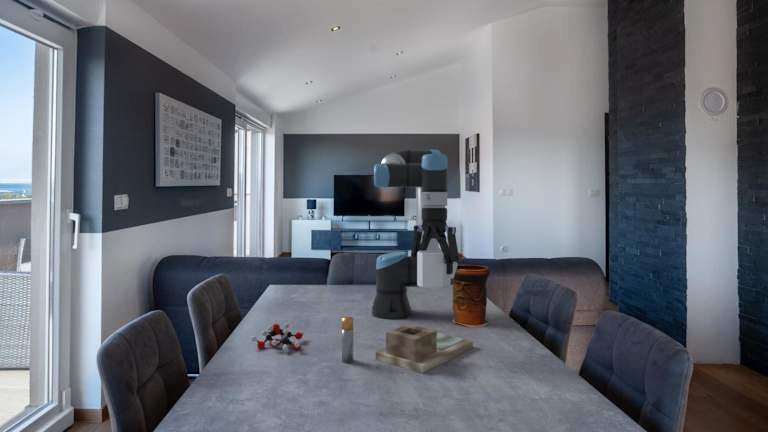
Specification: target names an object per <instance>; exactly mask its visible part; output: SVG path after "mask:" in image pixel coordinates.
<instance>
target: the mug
mask: <svg viewBox="0 0 768 432" xmlns="http://www.w3.org/2000/svg"><path fill="white" fill-rule="evenodd" d="M443 255H444V253H442V251H437V250H424V251H418V252H417V286H420V287H419V288H425V289H426V288H427V289H428V288H429V289H437V288H443V287H445V286H443V263H444V262H445V259H444V256H443ZM457 262H458V261H455V262H453V273H452V274H451V280H453V278H454V275H455V272H456V268H457V265H459V264H458V263H457Z"/></svg>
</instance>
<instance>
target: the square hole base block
mask: <svg viewBox="0 0 768 432" xmlns="http://www.w3.org/2000/svg"><path fill="white" fill-rule="evenodd" d="M385 334H386V335H385V348H382V349H379V350H377V351H375V360H377V361H380V362H383V363H386V364H390V365H394V366H397V367H400V368H402V369H406V370H410V371H413V372H416V373H418V374H419V373H420V374H424V373H426V372H428V371H430V370H432V369H434V368H436V367H438V366H440V365H442V364H444V363H446V362H447V361H450V360H452V359H454V358H456V357H457V356H459V355H461V354H463V353H465V352H467V351H469V350H471V349H472V348H474V340H470V339H466V338H463V337H458V336H452V335H449V334H444V333H440V332H437V330H434V329H431V328H426V327H421V326H418V325H412V324H404V325H402V326H400V327H396V328H395V329H394V328H393V329H390V330H388V331H386V332H385Z"/></svg>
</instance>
